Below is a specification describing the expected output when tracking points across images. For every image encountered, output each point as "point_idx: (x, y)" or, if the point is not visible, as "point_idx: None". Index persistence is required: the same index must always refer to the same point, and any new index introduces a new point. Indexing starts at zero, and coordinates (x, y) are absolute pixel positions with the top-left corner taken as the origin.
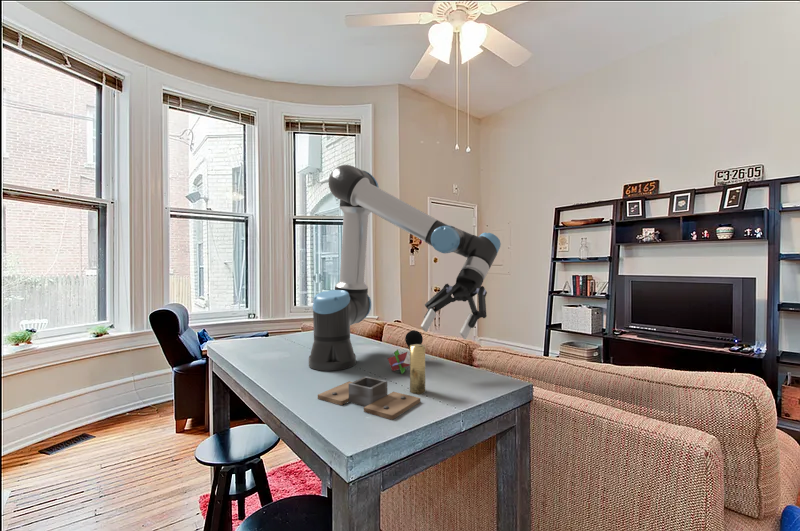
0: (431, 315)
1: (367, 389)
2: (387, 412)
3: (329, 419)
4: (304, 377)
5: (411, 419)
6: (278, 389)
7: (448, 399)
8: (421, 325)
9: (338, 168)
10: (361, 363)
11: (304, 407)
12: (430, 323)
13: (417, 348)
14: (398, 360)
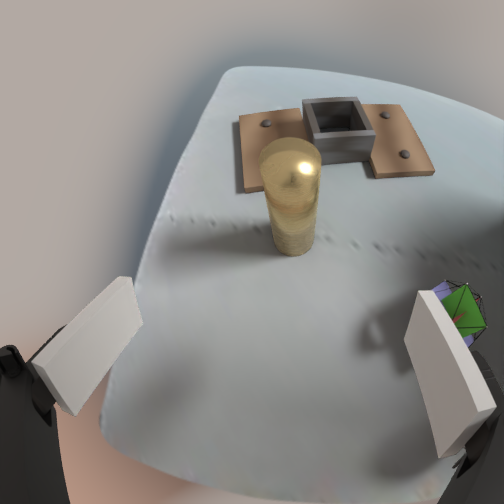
0: (447, 391)
1: (309, 100)
2: (252, 116)
3: (315, 82)
4: (501, 162)
5: (215, 138)
6: (463, 110)
7: (202, 243)
8: (430, 294)
9: None
10: None
11: (377, 87)
12: (421, 377)
13: (270, 143)
14: (451, 310)
